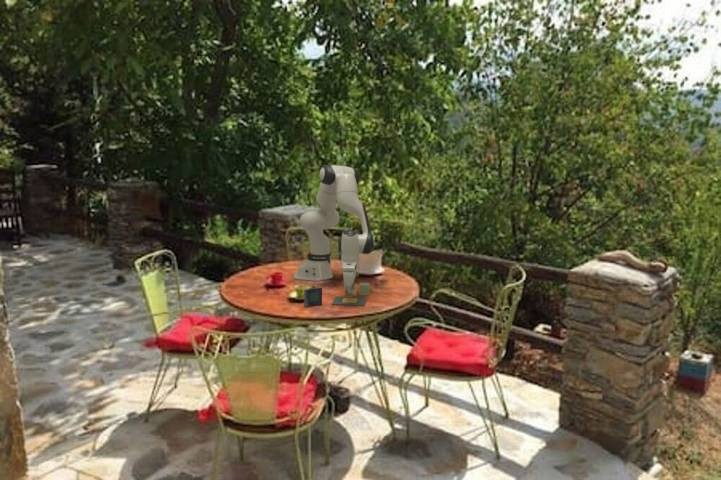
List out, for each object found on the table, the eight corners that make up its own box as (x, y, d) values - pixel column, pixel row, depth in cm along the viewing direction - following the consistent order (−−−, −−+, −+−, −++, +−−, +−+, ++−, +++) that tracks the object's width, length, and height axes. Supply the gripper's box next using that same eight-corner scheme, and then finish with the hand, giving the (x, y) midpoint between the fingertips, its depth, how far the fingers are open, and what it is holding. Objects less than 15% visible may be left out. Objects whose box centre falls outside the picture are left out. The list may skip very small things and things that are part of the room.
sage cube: (359, 294, 303) (359, 285, 302) (360, 292, 308) (360, 283, 307) (368, 295, 302) (368, 285, 301) (369, 292, 307) (369, 283, 306)
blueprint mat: (331, 305, 285) (331, 303, 285) (335, 297, 298) (335, 296, 298) (364, 306, 284) (364, 304, 284) (366, 298, 297) (366, 297, 296)
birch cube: (344, 295, 288) (344, 285, 287) (345, 292, 293) (345, 282, 292) (354, 295, 287) (354, 285, 286) (355, 292, 292) (355, 282, 291)
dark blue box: (305, 307, 281) (305, 286, 279) (303, 306, 284) (302, 284, 282) (323, 305, 286) (322, 284, 283) (320, 303, 288) (320, 282, 286)
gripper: (346, 258, 298) (346, 285, 300) (341, 268, 278) (341, 296, 280) (358, 259, 297) (358, 285, 300) (354, 268, 277) (354, 296, 280)
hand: (350, 290), depth 290 cm, fingers closed on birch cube, 5 cm apart
